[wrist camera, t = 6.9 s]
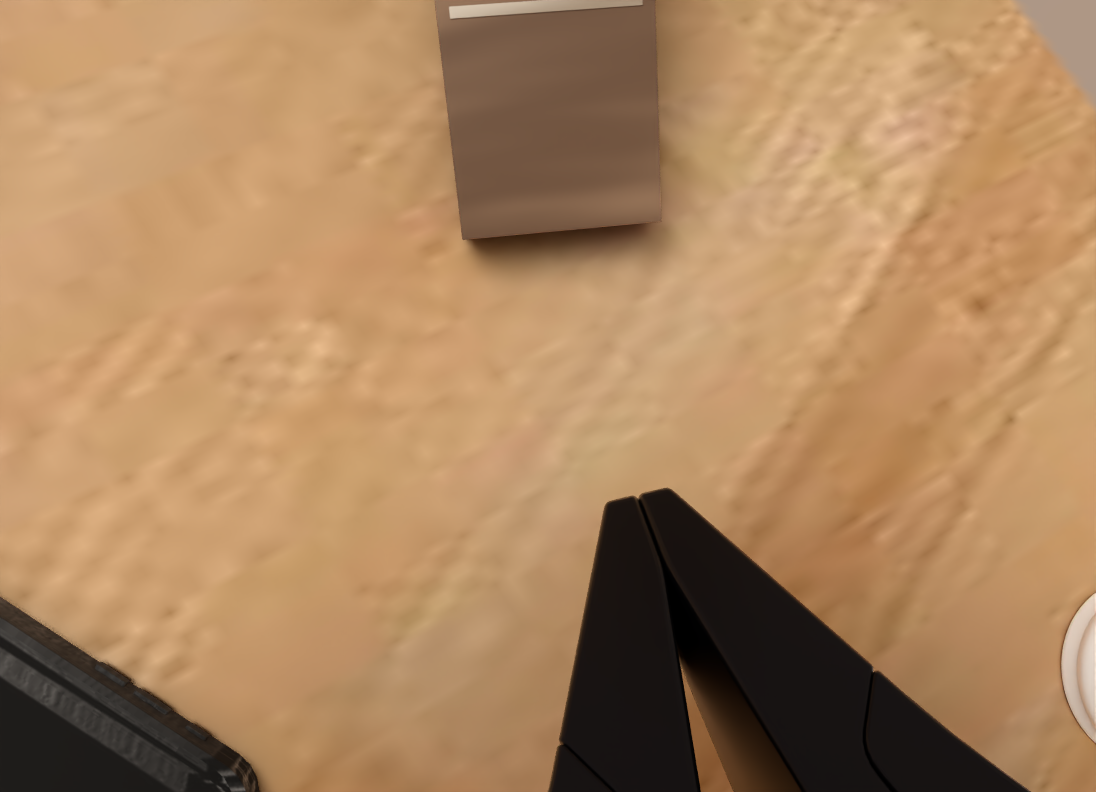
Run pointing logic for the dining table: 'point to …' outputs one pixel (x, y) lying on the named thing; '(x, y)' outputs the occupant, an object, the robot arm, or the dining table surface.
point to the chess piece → (1081, 666)
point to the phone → (95, 725)
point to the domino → (551, 113)
